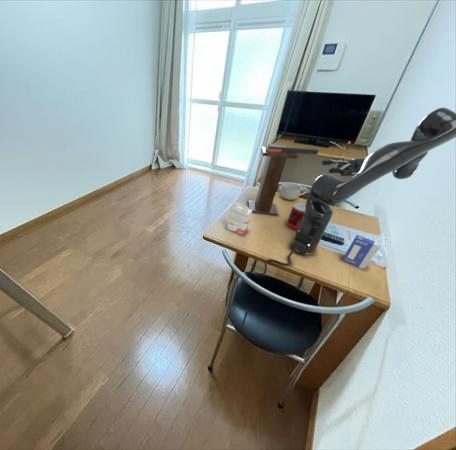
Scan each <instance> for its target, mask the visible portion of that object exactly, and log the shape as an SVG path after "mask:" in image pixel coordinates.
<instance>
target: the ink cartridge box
mask: <svg viewBox="0 0 456 450" xmlns="http://www.w3.org/2000/svg"><path fill="white" fill-rule="evenodd" d="M251 218H252V210H250V209H249V206H246V205H243V204H240V203H238V202H235V201H232V202H231V206H230V211H229V215H228V220H227V224H226V229H227V230H230V231H232V232H234V233H237V234H238V235H241V236H243V235H244V234H246V233H247V232H248V228H249V225H250V221H251Z"/></svg>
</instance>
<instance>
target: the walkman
mask: <svg viewBox="0 0 456 450" xmlns="http://www.w3.org/2000/svg"><path fill="white" fill-rule="evenodd" d="M381 245H382V243H381V242H378V241H376V240H373V239H370V238H366V237H364V236H361V235H359V234H356V235H355V237H354V238H353V240H352V241H351V244H350V245H349V247H348V249H347V250H346V252H345V253H344V256H343V257H342V259H341V261H344V262H346V263H348V264H350V265H352V266H355V267H357V268H360V269H362V270H365V269H366V267H367V266H368V264H370V261H371V260H372V259H373V257H374V256H375V254H377V252H378V251H379V249H380V247H381Z"/></svg>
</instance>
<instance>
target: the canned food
mask: <svg viewBox="0 0 456 450" xmlns="http://www.w3.org/2000/svg"><path fill="white" fill-rule="evenodd" d="M305 210H306V203H304V202H296V203H293V205H292V208H291V210H290V213H289V216H288V219H287V220H286V226H287V227H288V228H290V229H292V230H295V231H297V229H298V227H299V224H300V222H301V220H302V217H303V215H304V212H305Z"/></svg>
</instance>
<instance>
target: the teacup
mask: <svg viewBox="0 0 456 450" xmlns="http://www.w3.org/2000/svg"><path fill="white" fill-rule="evenodd" d="M304 190H305V191H304ZM302 191H303V192H302ZM307 193H308V188H307V187H303V186H302V185H300V184H298V183H295V182H287V181H286V182H283V183H281V187H280V190H279V195H280V197H281V198H283V199H284V200H288V201H293V200H296V199H298V198H299V197H300V196H303V195H305V194H307Z"/></svg>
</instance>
